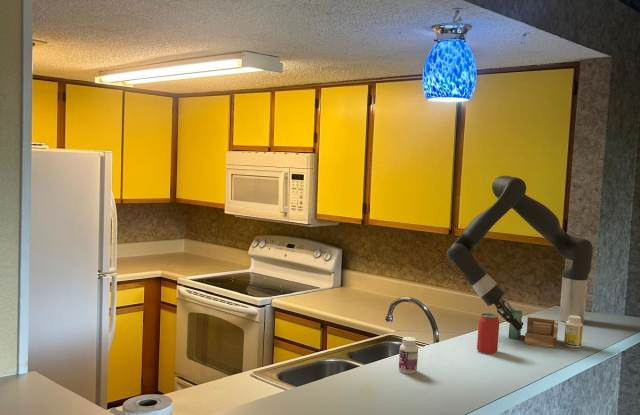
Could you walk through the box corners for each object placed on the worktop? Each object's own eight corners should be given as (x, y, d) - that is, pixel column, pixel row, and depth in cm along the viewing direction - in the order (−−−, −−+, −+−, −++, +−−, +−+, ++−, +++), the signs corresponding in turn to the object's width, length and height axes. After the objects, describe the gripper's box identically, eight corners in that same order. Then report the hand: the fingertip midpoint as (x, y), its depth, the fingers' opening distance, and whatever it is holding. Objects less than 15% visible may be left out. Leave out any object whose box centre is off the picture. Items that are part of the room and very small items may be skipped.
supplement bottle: (576, 343, 220) (578, 314, 219) (584, 348, 214) (586, 318, 213) (560, 343, 219) (563, 314, 218) (568, 348, 214) (570, 318, 213)
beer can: (472, 351, 206) (475, 314, 205) (482, 347, 211) (485, 311, 210) (491, 356, 202) (493, 319, 201) (501, 351, 206) (503, 315, 205)
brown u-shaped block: (526, 335, 227) (527, 316, 226) (556, 339, 223) (558, 320, 223) (524, 343, 217) (526, 323, 216) (556, 348, 213) (557, 327, 213)
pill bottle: (394, 368, 186) (396, 336, 185) (410, 367, 188) (412, 335, 187) (404, 374, 181) (406, 342, 180) (420, 373, 183) (422, 340, 182)
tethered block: (509, 334, 227) (511, 307, 226) (550, 340, 222) (552, 312, 221) (507, 339, 221) (509, 311, 220) (550, 345, 216) (552, 316, 215)
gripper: (493, 286, 218) (528, 326, 214) (498, 279, 231) (530, 316, 228) (477, 300, 220) (511, 339, 217) (482, 292, 233) (514, 329, 230)
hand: (520, 327), depth 222 cm, fingers closed on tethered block, 4 cm apart
